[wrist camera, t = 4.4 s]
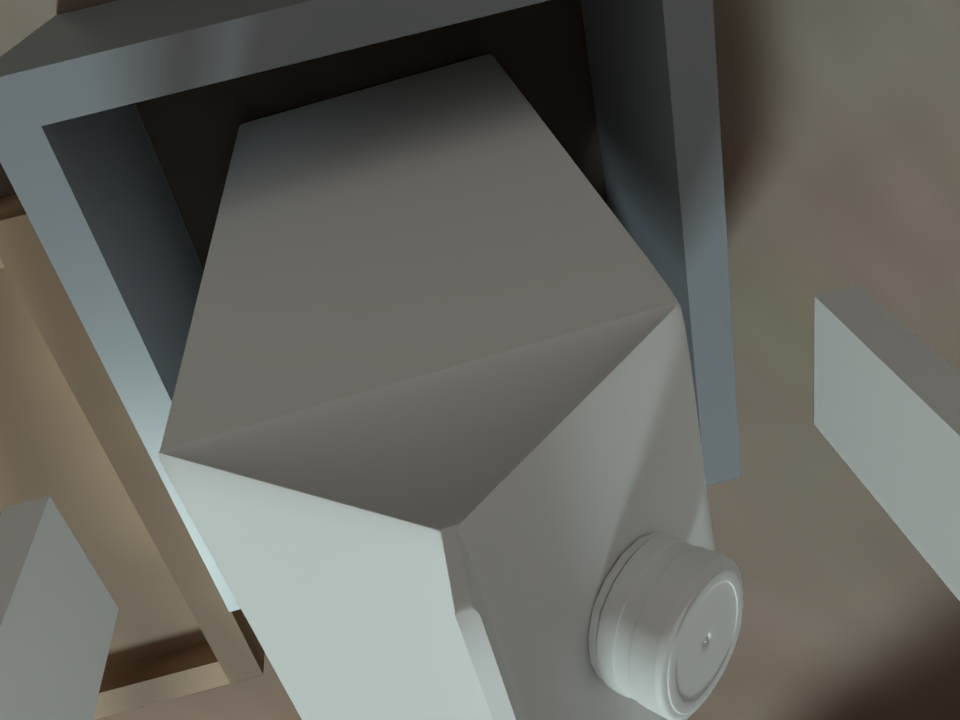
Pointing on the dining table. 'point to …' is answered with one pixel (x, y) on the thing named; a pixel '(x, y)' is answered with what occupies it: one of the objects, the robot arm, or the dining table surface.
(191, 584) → the tray
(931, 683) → the dining table surface
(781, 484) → the dining table surface
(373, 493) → the milk carton
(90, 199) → the bin
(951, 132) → the dining table surface
